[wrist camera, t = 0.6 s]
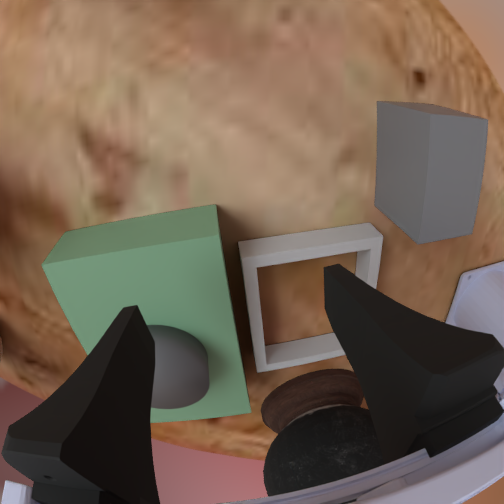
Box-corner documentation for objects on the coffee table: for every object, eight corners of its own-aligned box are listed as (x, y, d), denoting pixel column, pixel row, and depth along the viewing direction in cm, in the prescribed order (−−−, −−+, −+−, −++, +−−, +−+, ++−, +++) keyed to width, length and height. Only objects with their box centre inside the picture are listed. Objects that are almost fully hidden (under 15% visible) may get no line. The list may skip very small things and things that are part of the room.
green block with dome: (372, 185, 20) (423, 225, 14) (352, 353, 28) (376, 404, 23) (65, 231, 18) (27, 286, 13) (137, 387, 26) (131, 443, 21)
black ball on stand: (376, 402, 34) (421, 505, 21) (276, 441, 35) (300, 547, 22) (361, 342, 27) (430, 486, 14) (229, 395, 28) (250, 544, 16)
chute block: (430, 103, 17) (488, 119, 13) (424, 199, 21) (471, 234, 16) (376, 100, 17) (430, 113, 12) (373, 205, 21) (417, 244, 16)
